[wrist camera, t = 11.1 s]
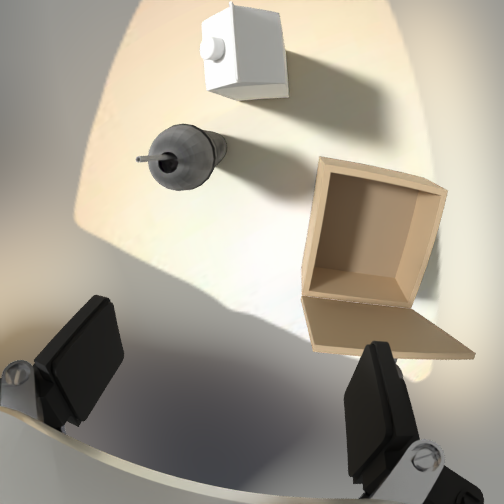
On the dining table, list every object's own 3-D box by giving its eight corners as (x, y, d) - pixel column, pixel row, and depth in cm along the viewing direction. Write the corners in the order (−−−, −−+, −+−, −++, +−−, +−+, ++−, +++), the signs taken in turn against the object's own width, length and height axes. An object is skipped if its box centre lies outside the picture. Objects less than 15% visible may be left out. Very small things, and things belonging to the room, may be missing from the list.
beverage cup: (205, 182, 43) (140, 229, 25) (177, 141, 41) (95, 162, 23) (246, 154, 40) (206, 183, 22) (218, 112, 38) (154, 108, 20)
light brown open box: (319, 156, 39) (324, 164, 32) (423, 177, 38) (447, 190, 31) (301, 267, 46) (301, 295, 39) (396, 280, 45) (411, 308, 38)
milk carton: (285, 49, 34) (276, -4, 16) (289, 97, 36) (284, 76, 19) (233, 53, 35) (186, 9, 17) (236, 101, 38) (191, 86, 20)
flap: (314, 344, 22) (299, 410, 23) (475, 353, 21) (453, 410, 21) (301, 295, 39) (293, 340, 40) (411, 308, 38) (400, 350, 38)
